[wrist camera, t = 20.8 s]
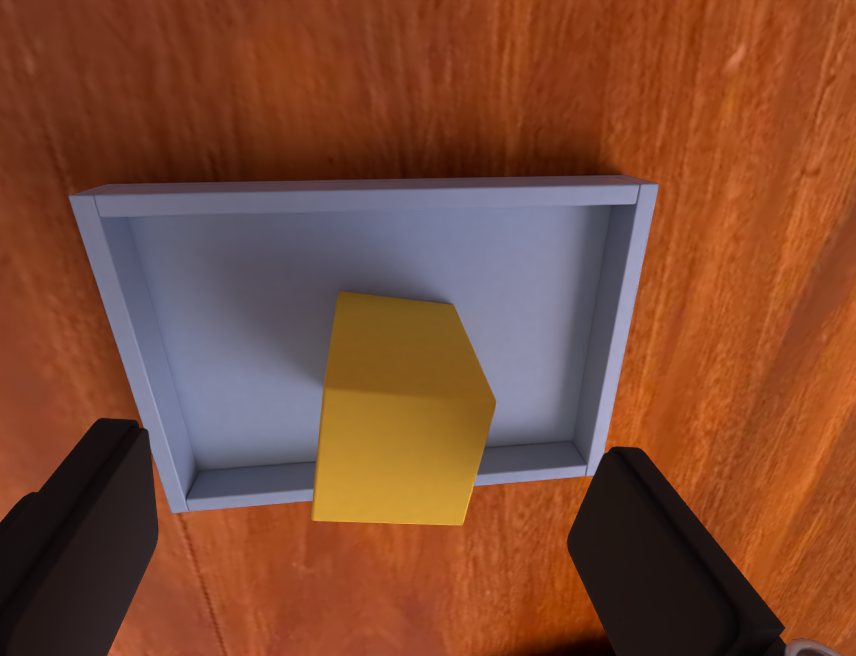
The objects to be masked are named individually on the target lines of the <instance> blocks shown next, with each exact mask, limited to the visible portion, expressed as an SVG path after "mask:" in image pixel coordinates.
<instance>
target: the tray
mask: <svg viewBox="0 0 856 656" xmlns="http://www.w3.org/2000/svg"><path fill="white" fill-rule="evenodd" d="M658 186H659V184H657V183H654V182H650V181H646V180H643V179H639V178H635V177H631V176H627V175H595V176H538V177H481V178H424V179H367V180H310V181H253V182H197V183H140V184H106V185H102V186H100V187H95V188H92V189H89V190H85V191H82V192H78V193H75V194H72V195H69V200H70V203H71V206H72V209H73V212H74V215H75V219H76V222H77V225H78V228H79V231H80V234H81V237H82V240H83V243H84V246H85V249H86V252H87V255H88V258H89V261H90V265H91V268H92V271H93V274H94V277H95V280H96V283H97V286H98V289H99V292H100V295H101V298H102V301H103V304H104V307H105V310H106V314H107V317H108V320H109V323H110V326H111V329H112V332H113V335H114V338H115V341H116V344H117V347H118V350H119V353H120V356H121V360H122V363H123V366H124V369H125V372H126V375H127V378H128V381H129V384H130V387H131V390H132V393H133V396H134V399H135V402H136V406H137V409H138V412H139V415H140V418H141V421H142V424H143V427H144V428H145V429H147V430H148V432H149V439H150V448H151V451H152V455H153V458H154V461H155V464H156V467H157V470H158V473H159V476H160V479H161V482H162V485H163V488H164V491H165V494H166V497H167V501H168V504H169V507H170V510H171V513H181V512H188V511H201V510H212V509H223V508H235V507H246V506H257V505H268V504H279V503H291V502H302V501H313V490H314V480H315V469H316V459H317V448H318V438H319V427H320V416H321V406H322V395H323V387H324V380H325V374H326V367H327V361H328V355H329V348H330V342H331V335H332V329H333V322H334V316H335V310H336V303H337V297H338V293H339V292H340V291H343V292H351V293H360V294H368V295H377V296H385V297H393V298H402V299H410V300H418V301H427V302H435V303H444V304H452V305H454V306H455V308H456V310H457V313H458V315H459V317H460V319H461V322H462V324H463V326H464V329H465V331H466V333H467V335H468V338H469V340H470V342H471V344H472V347H473V349H474V351H475V353H476V356H477V358H478V360H479V363H480V365H481V367H482V369H483V372H484V374H485V376H486V378H487V381H488V383H489V385H490V387H491V390H492V392H493V394H494V397H495V399H496V402H497V404H496V408H495V411H494V415H493V419H492V422H491V426H490V429H489V433H488V437H487V440H486V444H485V447H484V451H483V454H482V458H481V462H480V465H479V469H478V472H477V476H476V480H475V483H474V486H481V485H492V484H503V483H514V482H525V481H537V480H548V479H559V478H570V477H581V476H594V474H595V472H596V469H597V467H598V465H599V462H600V460H601V458H602V456H603V454H604V449H605V444H606V440H607V435H608V430H609V425H610V420H611V415H612V410H613V405H614V401H615V396H616V391H617V386H618V381H619V376H620V371H621V366H622V362H623V357H624V352H625V347H626V342H627V337H628V332H629V328H630V323H631V318H632V313H633V308H634V303H635V298H636V293H637V289H638V284H639V279H640V274H641V269H642V264H643V259H644V254H645V250H646V245H647V240H648V235H649V230H650V225H651V220H652V216H653V211H654V206H655V201H656V196H657V191H658Z"/></svg>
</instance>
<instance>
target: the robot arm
mask: <svg viewBox="0 0 856 656" xmlns="http://www.w3.org/2000/svg"><path fill="white" fill-rule="evenodd" d="M157 540H158V519H157V509H156V499H155V489H154V479H153V469H152V459H151V449H150V439H149V432H148V430H147V429H145V428H139V424H138V422H137V421H136V420H127V419H109V418H101V419H98V420H97V421H96V422H95V423H94V424H93V425H92V426H91V428H90V429H89V430H88V431H87V433H86V434H85V435H84V436H83V438H82V439H81V440H80V441H79V442H78V444H77V445H76V446H75V447H74V449H73V450H72V451H71V452H70V453H69V455H68V456H67V457H66V458H65V460H64V461H63V462H62V463H61V465H60V466H59V467H58V468H57V469H56V471H55V472H54V473H53V474H52V476H51V477H50V478H49V479H48V481H47V482H46V483H45V484H44V485H43V487H42V488H41V489H40V490H39V492H31V493H30V494H28V495H26V496H24V497H23V498H22V499H21V500H20V501H19V502H18V503H17V504H16V505H15V506H14V507H13V508H12V509H11V510H10V512H9V513H8V514H7V515H6V516H5V518H4V519H3V520H2V521H1V522H0V656H107V654H108V652H109V650H110V648H111V646H112V643H113V641H114V639H115V637H116V635H117V632H118V630H119V628H120V626H121V623H122V621H123V619H124V617H125V615H126V612H127V610H128V608H129V606H130V604H131V601H132V599H133V597H134V595H135V592H136V590H137V588H138V586H139V584H140V581H141V579H142V577H143V575H144V573H145V570H146V568H147V566H148V564H149V562H150V559H151V557H152V555H153V553H154V550H155V547H156V544H157ZM567 544H568V550H569V553H570V556H571V558H572V560H573V562H574V564H575V567H576V569H577V571H578V573H579V575H580V578H581V580H582V582H583V584H584V586H585V588H586V591H587V593H588V595H589V597H590V599H591V601H592V604H593V606H594V608H595V610H596V612H597V615H598V617H599V619H600V621H601V623H602V625H603V628H604V630H605V632H606V634H607V636H608V638H609V641H610V643H611V645H612V647H613V649H614V652H615V654H616V656H843V655H841V654H840V653H838V652H837V651H835V650H834V649H832V648H831V647H828V646H826V645H824V644H822V643H819V642H817V641H814V640H810V639H805V638H799V639H793V640H792V641H791V642H790V643H789V644H788V645H787V646H786V644H785V643H784V642H783V641H782V639H781V638H780V637H779V635H780V634H781V633H782V631H783V630H784V629H785V627H784V626H783V624H782V623H781V622H780V621H779V619H778V618H777V617H776V616H775V614H774V613H773V612H772V611H771V609H770V608H769V607H768V606H767V604H766V603H765V602H764V601H763V599H762V598H761V597H760V596H759V594H758V593H757V592H756V591H755V589H754V588H753V587H752V586H751V584H750V583H749V582H748V581H747V579H746V578H745V577H744V576H743V574H742V573H741V572H740V571H739V569H738V568H737V567H736V566H735V564H734V563H733V562H732V561H731V559H730V558H729V557H728V556H727V554H726V553H725V552H724V551H723V549H722V548H721V547H720V546H719V544H718V543H717V542H716V541H715V539H714V538H713V537H712V536H711V534H710V533H709V532H708V531H707V529H706V528H705V527H704V526H703V524H702V523H701V522H700V521H699V519H698V518H697V517H696V516H695V515H694V513H693V512H692V511H691V510H690V508H689V507H688V506H687V505H686V503H685V502H684V501H683V500H682V498H681V497H680V496H679V495H678V493H677V492H676V491H675V490H674V488H673V487H672V486H671V485H670V483H669V482H668V481H667V480H666V478H665V477H664V476H663V475H662V473H661V472H660V471H659V470H658V468H657V467H656V466H655V465H654V463H653V462H652V461H651V460H650V458H649V457H648V456H647V455H646V453H645V452H644V451H643V450H642V449H640V448H634V447H612V448H611V449H610V450H609V452H608V453H605V454H603V456H602V458H601V460H600V462H599V465H598V467H597V469H596V472H595V474H594V476H593V479H592V481H591V483H590V486H589V488H588V490H587V493H586V495H585V497H584V500H583V502H582V504H581V507H580V509H579V512H578V514H577V516H576V519H575V521H574V523H573V526H572V528H571V530H570V533H569V535H568V540H567Z"/></svg>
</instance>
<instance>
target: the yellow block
mask: <svg viewBox="0 0 856 656" xmlns="http://www.w3.org/2000/svg"><path fill="white" fill-rule="evenodd" d="M496 404H497V402H496V399H495V397H494V394H493V392H492V390H491V387H490V385H489V383H488V381H487V378H486V376H485V374H484V372H483V369H482V367H481V365H480V363H479V360H478V358H477V356H476V353H475V351H474V349H473V347H472V344H471V342H470V340H469V338H468V335H467V333H466V331H465V329H464V326H463V324H462V322H461V319H460V317H459V315H458V313H457V310H456V308H455V306H454V305H452V304H444V303H435V302H427V301H418V300H410V299H402V298H393V297H385V296H377V295H368V294H360V293H351V292H343V291H340V292H339V293H338V297H337V303H336V310H335V316H334V322H333V329H332V335H331V342H330V348H329V355H328V361H327V367H326V374H325V380H324V387H323V395H322V406H321V416H320V427H319V438H318V448H317V459H316V469H315V480H314V490H313V501H312V511H311V518H312V520H314V521H338V522H370V523H402V524H434V525H462V524H463V523H464V519H465V515H466V512H467V508H468V505H469V501H470V498H471V494H472V490H473V487H474V483H475V480H476V476H477V472H478V469H479V465H480V462H481V458H482V454H483V451H484V447H485V444H486V440H487V437H488V433H489V429H490V426H491V422H492V419H493V415H494V411H495V408H496Z"/></svg>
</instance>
